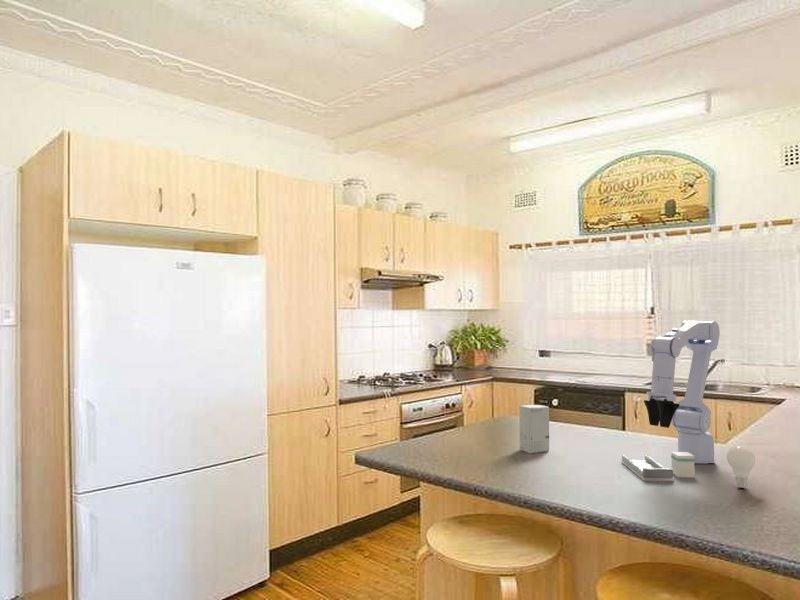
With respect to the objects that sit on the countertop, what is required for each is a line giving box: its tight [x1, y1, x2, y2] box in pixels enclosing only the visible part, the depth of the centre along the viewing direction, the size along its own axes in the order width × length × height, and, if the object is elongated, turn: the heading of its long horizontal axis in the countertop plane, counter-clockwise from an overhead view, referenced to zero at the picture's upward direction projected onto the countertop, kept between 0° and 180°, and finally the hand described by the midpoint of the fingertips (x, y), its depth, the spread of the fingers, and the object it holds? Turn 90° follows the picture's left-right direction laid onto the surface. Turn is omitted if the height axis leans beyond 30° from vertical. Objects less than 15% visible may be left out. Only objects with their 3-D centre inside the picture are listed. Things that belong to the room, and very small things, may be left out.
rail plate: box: [621, 454, 675, 482], centre depth 158 cm, size 8×18×3 cm, turn 176°
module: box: [670, 451, 696, 478], centre depth 154 cm, size 5×4×6 cm
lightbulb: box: [726, 445, 757, 489], centre depth 143 cm, size 6×6×11 cm
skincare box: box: [518, 404, 550, 454], centre depth 182 cm, size 8×6×15 cm
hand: (659, 426), depth 155 cm, fingers open, 7 cm apart
